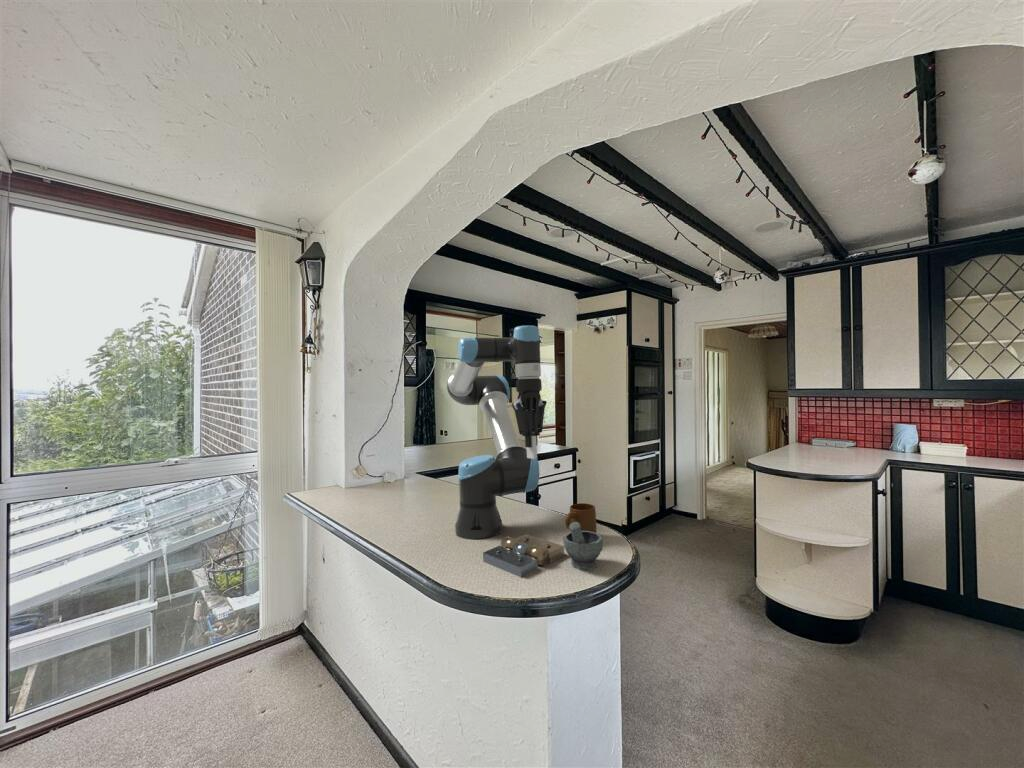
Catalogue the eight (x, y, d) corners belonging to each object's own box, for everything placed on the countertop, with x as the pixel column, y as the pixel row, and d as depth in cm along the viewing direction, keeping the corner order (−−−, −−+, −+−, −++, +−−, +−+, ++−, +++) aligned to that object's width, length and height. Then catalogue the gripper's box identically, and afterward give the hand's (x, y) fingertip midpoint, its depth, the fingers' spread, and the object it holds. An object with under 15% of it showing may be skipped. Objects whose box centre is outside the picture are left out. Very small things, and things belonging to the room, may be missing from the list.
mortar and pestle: (573, 554, 110) (571, 509, 110) (607, 560, 105) (605, 513, 105) (556, 571, 100) (554, 522, 100) (594, 578, 95) (591, 527, 95)
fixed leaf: (501, 553, 112) (500, 538, 112) (526, 542, 119) (525, 529, 119) (539, 567, 102) (538, 551, 102) (564, 555, 109) (563, 540, 109)
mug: (578, 550, 112) (577, 516, 112) (556, 544, 117) (555, 511, 117) (601, 537, 121) (600, 505, 121) (580, 532, 126) (578, 501, 126)
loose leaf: (483, 562, 108) (482, 547, 108) (510, 549, 115) (509, 535, 115) (521, 578, 98) (520, 561, 98) (548, 563, 105) (547, 548, 105)
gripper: (522, 378, 114) (526, 462, 114) (552, 377, 123) (555, 455, 123) (503, 379, 119) (507, 460, 119) (534, 378, 128) (537, 453, 128)
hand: (532, 457), depth 121 cm, fingers closed
